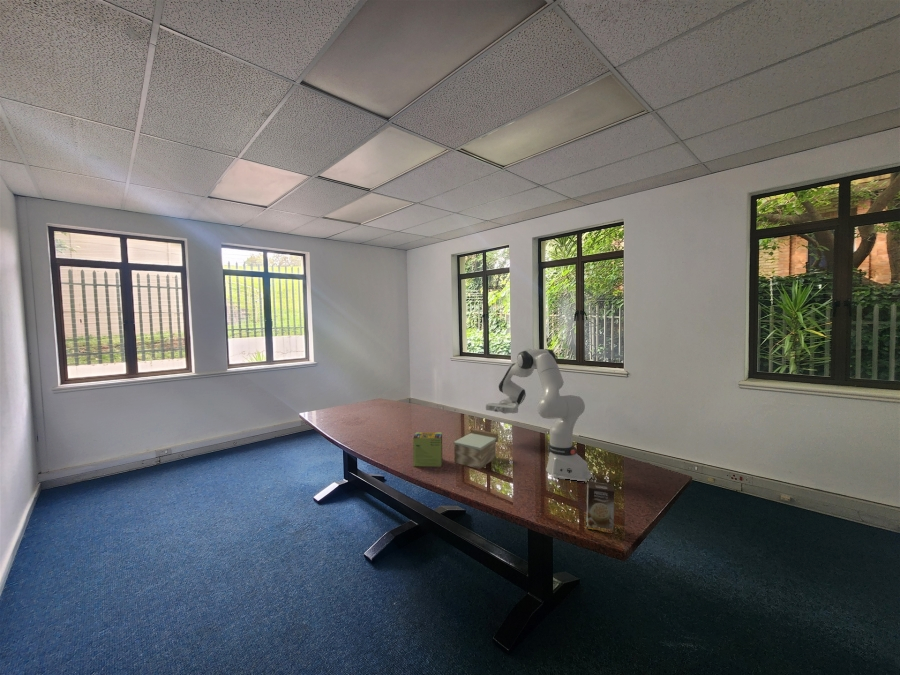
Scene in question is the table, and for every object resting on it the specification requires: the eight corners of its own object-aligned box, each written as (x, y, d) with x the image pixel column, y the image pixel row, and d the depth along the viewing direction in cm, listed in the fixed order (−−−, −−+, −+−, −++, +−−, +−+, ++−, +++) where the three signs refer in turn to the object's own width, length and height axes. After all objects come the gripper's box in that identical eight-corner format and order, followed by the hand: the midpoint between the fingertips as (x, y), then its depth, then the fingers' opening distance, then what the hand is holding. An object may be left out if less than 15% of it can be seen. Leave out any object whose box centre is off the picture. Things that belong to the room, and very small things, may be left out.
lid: (497, 441, 204) (497, 433, 203) (480, 452, 186) (480, 444, 186) (472, 436, 213) (472, 428, 213) (453, 446, 196) (453, 438, 195)
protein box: (441, 466, 191) (441, 438, 190) (412, 466, 191) (412, 437, 190) (442, 459, 201) (442, 431, 200) (415, 459, 202) (415, 431, 201)
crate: (495, 458, 202) (495, 440, 202) (480, 469, 187) (480, 450, 187) (471, 452, 211) (471, 435, 211) (454, 462, 196) (454, 444, 196)
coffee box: (586, 530, 133) (587, 487, 132) (586, 520, 139) (586, 480, 138) (613, 534, 130) (614, 491, 129) (612, 525, 136) (612, 483, 135)
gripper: (491, 399, 236) (481, 403, 225) (520, 402, 225) (511, 407, 214) (491, 409, 236) (481, 413, 225) (520, 412, 225) (511, 417, 214)
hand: (496, 410), depth 219 cm, fingers closed
